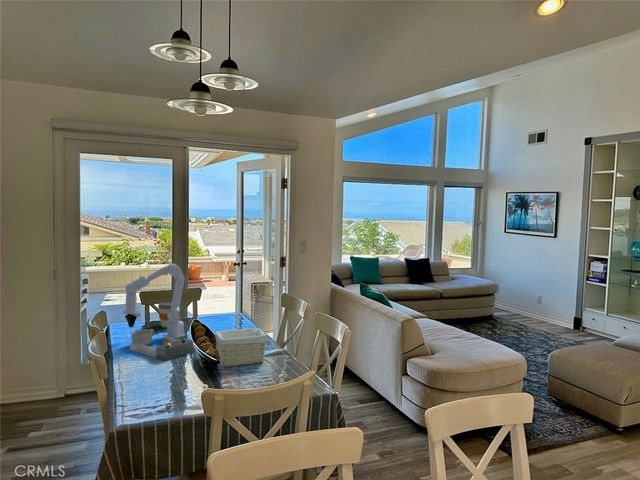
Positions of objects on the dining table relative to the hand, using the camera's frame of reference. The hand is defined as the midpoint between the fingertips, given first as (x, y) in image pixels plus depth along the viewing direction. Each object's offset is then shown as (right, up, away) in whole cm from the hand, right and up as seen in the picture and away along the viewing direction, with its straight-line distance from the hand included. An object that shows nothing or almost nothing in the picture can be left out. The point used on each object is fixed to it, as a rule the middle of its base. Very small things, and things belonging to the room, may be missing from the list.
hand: (131, 327), depth 247 cm
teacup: (+10, -9, -6) cm, 15 cm away
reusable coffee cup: (+9, -6, +35) cm, 37 cm away
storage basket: (+69, -12, -29) cm, 76 cm away
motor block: (+25, -10, -16) cm, 31 cm away
